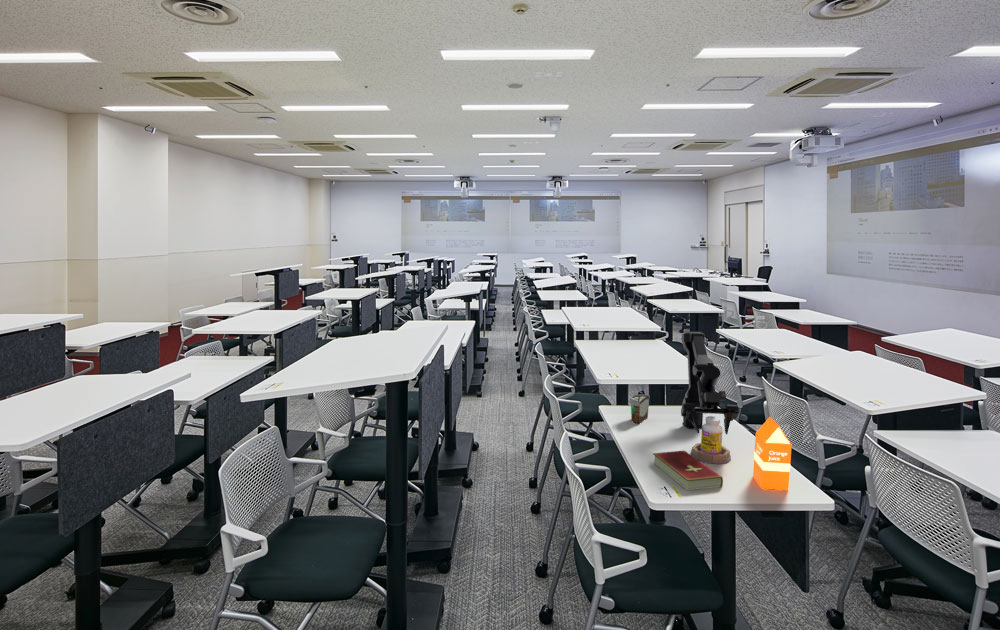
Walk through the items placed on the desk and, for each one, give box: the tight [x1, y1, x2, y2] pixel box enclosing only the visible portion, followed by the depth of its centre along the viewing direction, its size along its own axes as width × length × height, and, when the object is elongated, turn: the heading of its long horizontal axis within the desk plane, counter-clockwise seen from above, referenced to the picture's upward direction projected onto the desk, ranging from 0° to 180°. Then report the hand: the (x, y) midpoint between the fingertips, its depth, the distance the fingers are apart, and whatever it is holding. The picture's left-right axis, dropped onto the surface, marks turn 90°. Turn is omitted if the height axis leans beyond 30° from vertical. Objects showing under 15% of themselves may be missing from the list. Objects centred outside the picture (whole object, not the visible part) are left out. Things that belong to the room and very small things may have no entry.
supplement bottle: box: [700, 415, 723, 455], centre depth 184 cm, size 7×7×13 cm
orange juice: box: [752, 416, 793, 492], centre depth 163 cm, size 8×9×20 cm
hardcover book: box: [652, 450, 724, 491], centre depth 170 cm, size 12×21×4 cm, turn 12°
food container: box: [629, 393, 651, 425], centre depth 223 cm, size 12×6×10 cm, turn 145°
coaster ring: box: [690, 442, 732, 465], centre depth 185 cm, size 13×13×3 cm
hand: (712, 433), depth 182 cm, fingers open, 9 cm apart
